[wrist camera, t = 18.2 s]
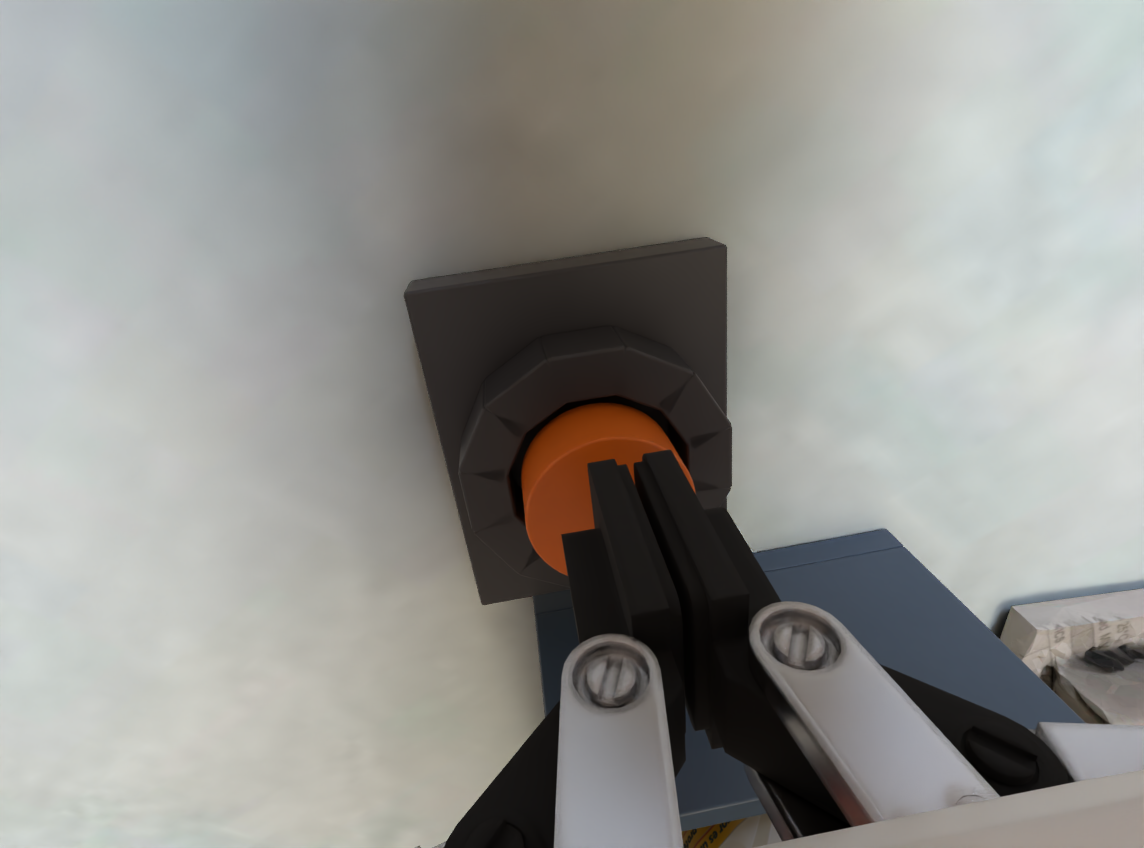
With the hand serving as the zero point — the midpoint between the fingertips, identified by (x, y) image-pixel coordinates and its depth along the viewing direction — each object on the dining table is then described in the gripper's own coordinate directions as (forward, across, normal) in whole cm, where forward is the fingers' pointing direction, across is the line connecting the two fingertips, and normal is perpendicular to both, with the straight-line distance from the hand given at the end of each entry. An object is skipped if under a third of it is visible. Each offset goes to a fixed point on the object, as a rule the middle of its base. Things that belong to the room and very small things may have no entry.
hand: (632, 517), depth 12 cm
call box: (+6, 0, +1) cm, 6 cm away
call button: (+3, 0, +1) cm, 3 cm away
